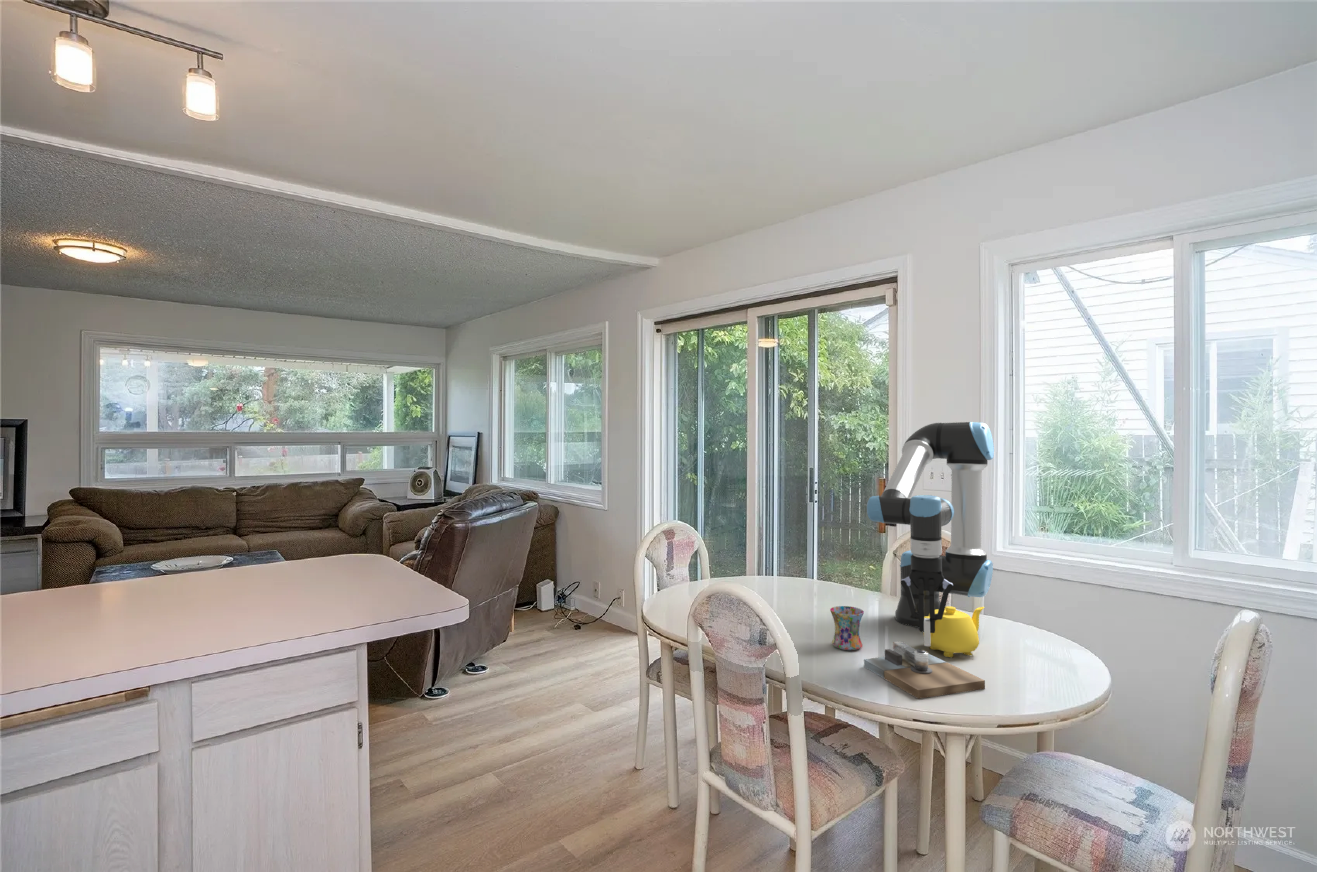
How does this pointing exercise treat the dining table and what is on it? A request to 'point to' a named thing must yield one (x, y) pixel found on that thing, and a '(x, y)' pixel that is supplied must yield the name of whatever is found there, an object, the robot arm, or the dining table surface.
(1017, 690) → the dining table surface
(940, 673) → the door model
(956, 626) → the teapot
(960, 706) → the dining table surface
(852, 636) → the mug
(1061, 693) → the dining table surface
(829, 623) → the dining table surface
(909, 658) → the latch bar
